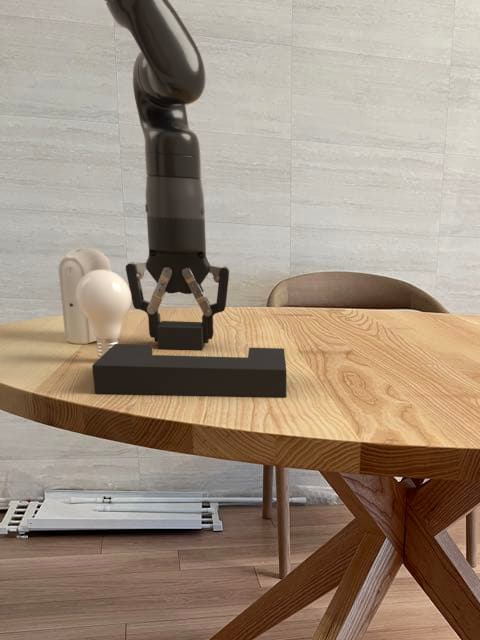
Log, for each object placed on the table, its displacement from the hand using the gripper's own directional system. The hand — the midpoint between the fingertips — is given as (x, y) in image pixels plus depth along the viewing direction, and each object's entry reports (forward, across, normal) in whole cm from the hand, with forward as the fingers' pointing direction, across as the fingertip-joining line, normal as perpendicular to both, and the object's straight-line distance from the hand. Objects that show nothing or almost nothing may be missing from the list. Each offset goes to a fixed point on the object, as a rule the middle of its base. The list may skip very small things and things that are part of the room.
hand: (181, 341), depth 117 cm
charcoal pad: (+1, -4, +25) cm, 25 cm away
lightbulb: (+1, +8, +13) cm, 15 cm away
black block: (+1, 0, 0) cm, 1 cm away
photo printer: (+1, +13, -4) cm, 14 cm away
